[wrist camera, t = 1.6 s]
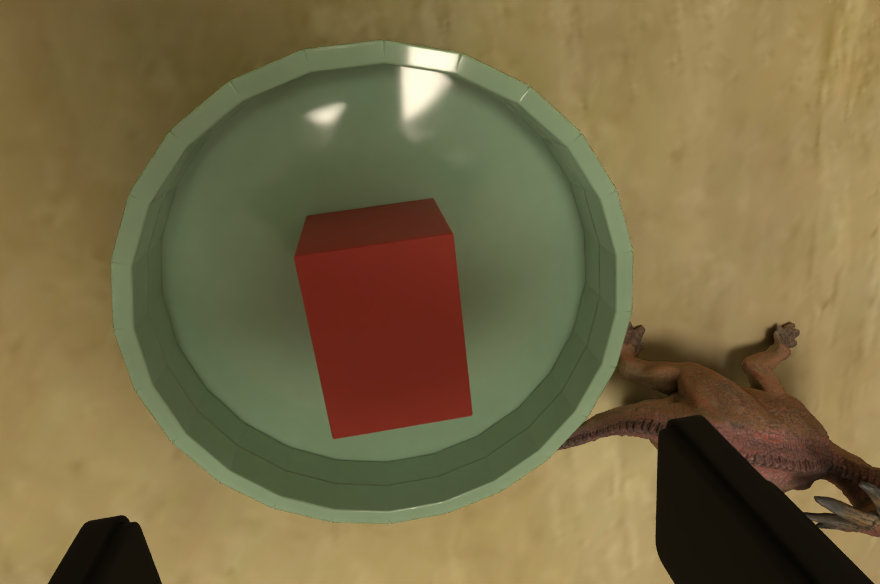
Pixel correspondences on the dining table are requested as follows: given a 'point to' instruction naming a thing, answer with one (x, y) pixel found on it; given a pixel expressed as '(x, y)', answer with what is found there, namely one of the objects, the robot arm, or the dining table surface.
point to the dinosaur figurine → (747, 426)
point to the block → (385, 316)
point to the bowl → (351, 187)
